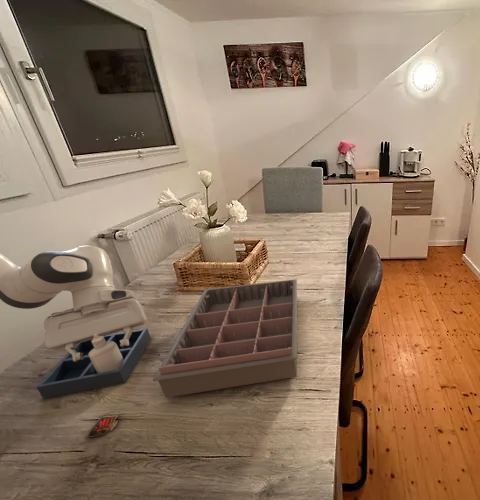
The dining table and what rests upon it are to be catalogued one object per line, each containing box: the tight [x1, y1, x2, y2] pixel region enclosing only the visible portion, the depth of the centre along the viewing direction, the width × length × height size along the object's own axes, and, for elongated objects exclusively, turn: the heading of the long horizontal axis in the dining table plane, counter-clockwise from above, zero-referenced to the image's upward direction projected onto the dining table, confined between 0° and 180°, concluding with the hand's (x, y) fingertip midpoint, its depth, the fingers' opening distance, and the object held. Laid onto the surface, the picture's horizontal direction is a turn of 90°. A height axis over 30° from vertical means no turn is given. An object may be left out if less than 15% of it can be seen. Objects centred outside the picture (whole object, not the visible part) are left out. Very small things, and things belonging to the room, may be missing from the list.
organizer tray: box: [152, 278, 298, 399], centre depth 84 cm, size 32×40×10 cm
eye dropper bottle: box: [88, 334, 124, 373], centre depth 73 cm, size 4×6×12 cm
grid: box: [36, 327, 152, 400], centre depth 77 cm, size 17×17×4 cm
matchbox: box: [87, 414, 119, 438], centre depth 61 cm, size 5×5×1 cm
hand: (102, 353), depth 72 cm, fingers open, 8 cm apart
